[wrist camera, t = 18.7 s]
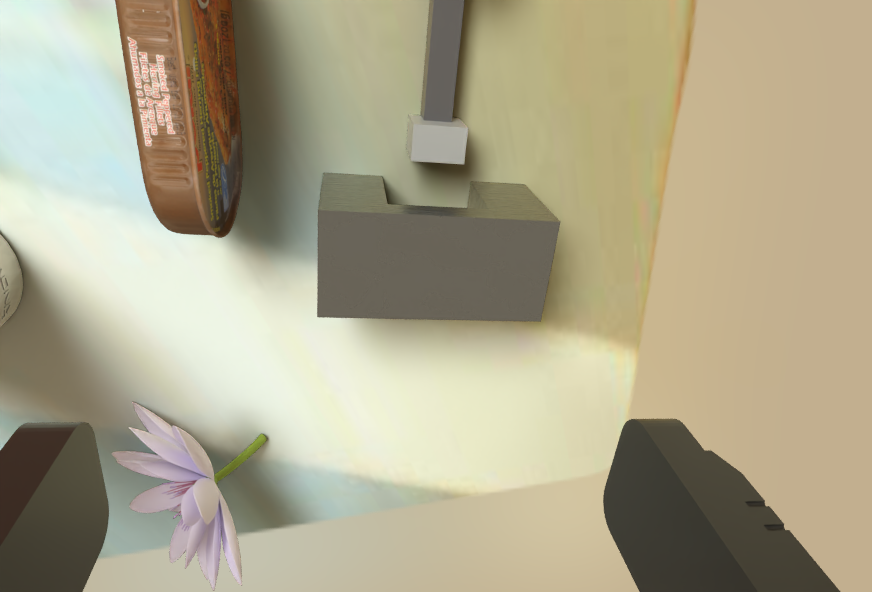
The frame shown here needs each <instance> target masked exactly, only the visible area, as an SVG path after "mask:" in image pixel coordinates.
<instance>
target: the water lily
mask: <svg viewBox="0 0 872 592" xmlns="http://www.w3.org/2000/svg"><path fill="white" fill-rule="evenodd" d="M132 404H133V405H134V409H135V411H136V413H137V415H138V417H139V418H140V420H141V421H142V423H143V424H144V426H145V427H146V428H147V430H148V431H149V432H150V433H148V432H145V431H142V430H139V429H135V428H131V427H129V429H130V430H131V431H132V432H133V433H134V434H135V435H136V436H137V437H138V438H139V439H140V440H141V441H142V442H143V443H144V444H145V445H147V446H148V447H149V448H150V449H151V450H153V451H154V452H155V453H156V454H158V455H155V454H150V453H144V452H135V451H116V452H112V455H113V457H115V458H116V459H117V460H118V461H116V462H117V463H119V464H120V465H122V466H124V467H126V468H128V469H130V470H132V471H135V472H137V473H141V474H144V475H147V476H151V477H156V478H163V479H166V480H170V481H175V482H169V483H162V485H159V486H156V487H154V488H151V489H149V490H146V491H144V492H143V493H141V494H139V495H138V496H137V497H136V498H135V499H134V500H133V501H132V502H131V504H130V506H129V508H130V509H132V510H134V511H136V512H140V513H154V512H159V511H163V510H166V509H168V510H170V511H173V512H178V513H177V514H176V515H175V516H174V517H173V519H174V518H175V517H176V516H177V515H178V514H179V513H180V514H179V516H180V515H181V514H182V518H181V519H180V521H179V523H178V524H177V526H176V528H175V530H174V533H173V536H172V539H171V543H170V551H169V555H170V562H171V563H172V562H175V561H176V560H178V558H180V557H181V556H182V554H184V553H185V551H186V564H185V568H187V566H188V565H189V563H190V561H191V560H192V558H193V556H194V555H195V553H196V551H197V555H198V560H199V564H200V566H201V569H202V572H203V574H204V576H205V578H206V579H207V580H208V579H209V581H210V584H211V587H212V589H213V591H214V589H215V585H216V580H217V575H218V568H219V560H220V548H221V533H222V542H223V549H224V553H225V556H226V560H227V562H228V565H229V568H230V570H231V572H232V574H233V576H234V578H235V579H236V581H237V582H238V583H239V584H240V585H241V586H242V573H241V572H242V571H241V557H240V550H239V543H238V538H237V534H236V530H235V526H234V523H233V520H232V517H231V514H230V511H229V509H228V506H227V504H226V502H225V499H224V497H223V496H222V494H221V492H220V490H219V488H218V487H217V482H218V481H220V480H221V479H223V478H224V477H225V476H227V475H228V474H229V473H231V472H232V471H233V470H235V469H236V468H237V467H238V466H240V465H241V464H242V463H243V462H244V461H246V460H247V459H248V458H249V457H250V456H251V455H252V454H254V453H255V452H256V451H257V450H258V449H259V448H260V447H261V446H262V445H263V444H264V443H265V442H266V441H267V439H266V437H265V436H264V435H263V434H260V436H259V437H258V438H257V439H256V440H255V441H254V442H253V443H252V444H251V445H250V446H249V447H248V448H247V449H245V450H244V451H243V452H242V453H241V454H240V455H239V456H238V457H236V458H235V459H234V460H233V461H232V462H230V463H229V464H228V465H227V466H225V467H224V468H223V469H221V470H220V471H219V472H217V473H216V474H215V475H214V471H213V467H212V464H211V461H210V459H209V458H208V456H207V454H206V453H205V451H204V449H203V448H202V447H201V446H200V444H199V443H198V442H197V441H196V440H195V439H194V438H193V437H192V436H191V435H190V434H188V433H187V432H185V431H184V430H182V429H180V428H179V427H177V426H172V427H171V426H170V425H169V424H168V423H166V422H165V421H164V420H163V419H161V418H160V417H158V416H157V415H156V414H154V413H152V412H151V411H149V410H148V409H146V408H144V407H142V406H140V405H139V404H137V403H135V402H132Z"/></svg>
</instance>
